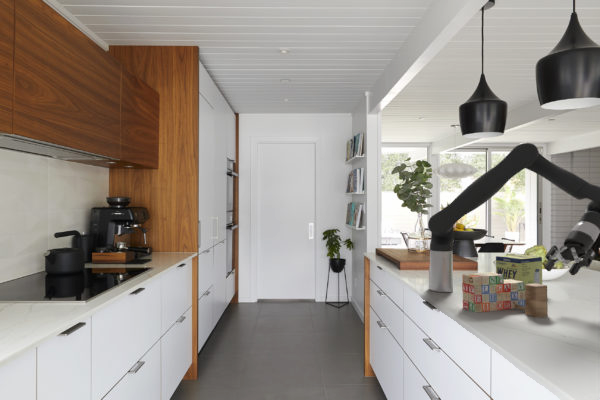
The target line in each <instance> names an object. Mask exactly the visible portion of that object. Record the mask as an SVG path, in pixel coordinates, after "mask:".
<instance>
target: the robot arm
mask: <svg viewBox="0 0 600 400" xmlns="http://www.w3.org/2000/svg"><path fill="white" fill-rule="evenodd" d="M524 169H526V170H528V171H531V172H533V173H535V174H537V175H539V176H540V177H542V178H544V179H546V180H547V181H549V183H551V184H553V185H554V186H556V187H557V188H559V189H560V190H562V191H563V192H565V193H566V194H568V195H570V196H571V197H573V198H574V199H576V200H579V201H581V200H584V199H587V200H590V202H589V203H587V205H586V207H585V209H584V212H583V215H582V216H581V217H580V218H579V220H578V222H577V223H576V224H575V225H574V226H573V228H572V229H571V230H570V231H569V233H568V235H567V236H566V237H565V239H564V242H563V245H562V246H560V247H559V246H557V245H556V244H555V245H552V247H551V248H550V249H549V251H548V252H547V253H546V254H545V259H546V260H547V262H546V263H545V265H544V269H545V270H546V271H547V272H551V270H552V269H553V268H554V267H555V265H556V264H557V263H559V262H564V261H573V262H574V263H573V264H572V265H571V266H570V268H569V270H568V272H569V274H570V275H571V276H575V275H576V274H578V273H579V271H580V269H581V268H583V267H586V268H588V267H590V266H591V264H592V262H593V261H594V259H595V257H596V253H595V251H594V250H593V249H592V246H593V245H594V243H595V242H596V240H597V239H598V237H599V235H600V186H599V185H596V184H593V183H590V182H588V181H587V180H585V179H584V178H582V177H580V176H579V175H577V174H575V173H573V172H571V171H569V170H567V169H565V168H563V167H561V166H560V165H557V164H556V163H554V162H552V161H550V160H549V159H547V158H546V157H544V156H543V154H541V153H540V152H539V149H538V147H537V146H536V145H535V144H534V143H532V142H521V143H519V144H517V145H515V146H514V147H513V148H512V149H511V151H510V152H509V153H508V154H507V155H506V156H504V157H503V159H502V160H500V162H498V163H497V164H496V165H495V166H493V167H491V168H490V169H488V170H487V171H486V172H484V173H483V174H481V175H480V176H479V177H477V179H475V180H474V181H473V182H472V183H470V184H469V185H468V186H467V187H466V188H465V189H463V191H461V192H460V193H459V194H458V195H457V196H456V197H455V198H454V199H453V201H451V202H449V204H448V205H446V206H445V207H443V208H441V209H440V210H439V211H438V212H436V213H434V214H433V215H431V217H430V218H429V220H428V222H427V227H428V228H427V229H429V232H431V233H430V234H431V235H430V236H431V237H430V244H429V267H428V289H429V290H431V291H432V292H439V293H451V292H453V291H454V278H453V277H454V272H453V271H454V270H453V269H454V265H453V264H454V262H453V256H454V255H453V246H454V225H455V224H456V223H457V222H458V221H460V220H461V219H462V218H463V217H464V216H466V215H467V214H469V213H472V212H473V211H474V210H476V209H478V208H479V207H481V206H482V205H484V204H485V203H486V202H487V201H489V200H490V199H491V198H492V197H494V196H496V194H497V193H498V192H499V191H500V190H501V189H502V188H503V187H504V186H505V185H506V184H507V183H508V182H509V180H511V179H513V178H514V176H516V175H517V174H519V173H520V172H522V171H523V170H524ZM560 255H561V256H560ZM582 257H583V258H582Z"/></svg>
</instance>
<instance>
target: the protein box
mask: <svg viewBox="0 0 600 400" xmlns="http://www.w3.org/2000/svg"><path fill="white" fill-rule="evenodd" d="M495 273H496V274H501V275H503V278H504V280H506V279H512V280H517V281H522V282H524V287H525V284H535V283H537V284H542V285H543V257H542V256H536V255H530V254H529V255H527V254H521V253H520V254H518V253H516V254H509V255H508V254H507V255H497V256H495ZM524 291H525V290H524Z"/></svg>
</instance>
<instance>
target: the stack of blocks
mask: <svg viewBox="0 0 600 400" xmlns="http://www.w3.org/2000/svg"><path fill="white" fill-rule="evenodd" d="M461 276H462V278H461V279H462V284H461V286H462V289H461V290H462V308H463V309H465V310H468V311H471V312H474V313H477V312H479V313H480V312H481V313H482V312H494V310H495V311H503V310H502V309H504V310H513V309H517V308H516V307H515V305H520V306H524V307H525V291H524V290H525V287H524V282H522V281H517V280H512V279H506V280H504V278H503V275H501V274H496V272H490V271H489V272H488V271H487V272H476V273H475V272H474V273H462V275H461Z"/></svg>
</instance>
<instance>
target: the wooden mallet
mask: <svg viewBox="0 0 600 400" xmlns="http://www.w3.org/2000/svg"><path fill="white" fill-rule="evenodd" d="M515 307H516V308H515V309H520V310H524V311H525V315H526V316H529V315H530V317H533V318H536V319H537V318H543V317H548V316H549V311H548V310H549V309H548V285H547V284H543V283H542V284H537V283H535V284H525V307H524V306H520V305H515Z"/></svg>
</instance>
